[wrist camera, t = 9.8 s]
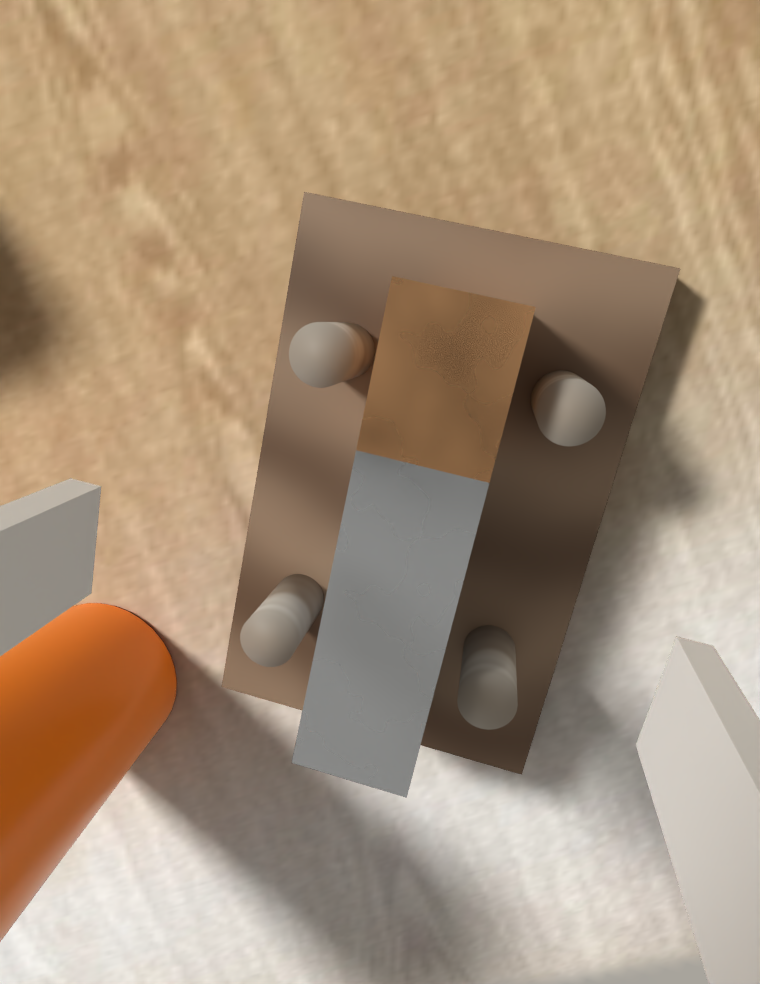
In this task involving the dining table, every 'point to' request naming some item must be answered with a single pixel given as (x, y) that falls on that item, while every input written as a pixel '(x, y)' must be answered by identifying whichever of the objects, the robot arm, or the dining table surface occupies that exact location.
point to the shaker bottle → (71, 734)
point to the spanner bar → (408, 527)
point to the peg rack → (515, 477)
